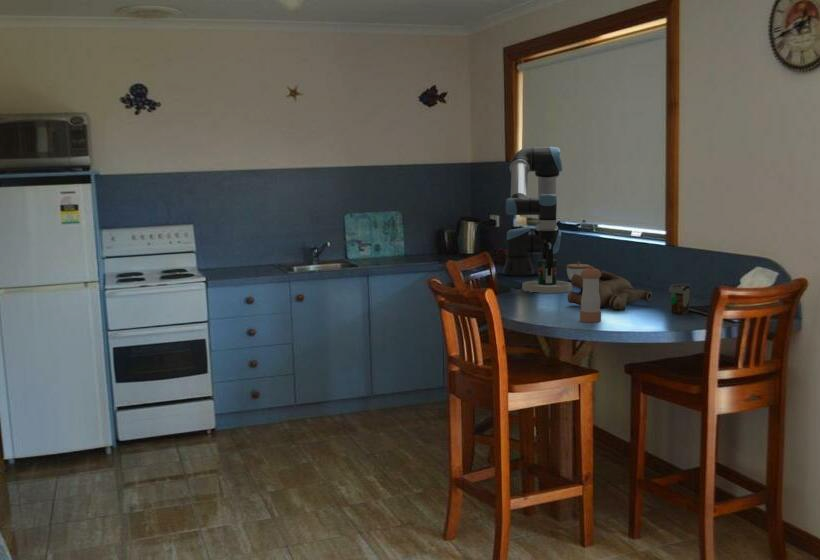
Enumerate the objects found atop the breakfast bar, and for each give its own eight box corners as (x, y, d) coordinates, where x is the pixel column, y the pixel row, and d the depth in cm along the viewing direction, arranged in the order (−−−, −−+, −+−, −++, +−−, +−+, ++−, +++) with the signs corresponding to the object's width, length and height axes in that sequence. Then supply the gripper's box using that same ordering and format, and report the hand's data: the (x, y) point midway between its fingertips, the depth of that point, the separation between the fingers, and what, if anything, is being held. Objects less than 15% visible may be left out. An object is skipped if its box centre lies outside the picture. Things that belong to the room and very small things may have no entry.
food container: (672, 309, 320) (673, 282, 318) (689, 310, 316) (690, 283, 315) (664, 314, 309) (665, 286, 308) (681, 315, 306) (682, 287, 305)
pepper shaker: (591, 323, 293) (591, 267, 290) (575, 320, 299) (576, 266, 296) (605, 320, 297) (606, 266, 294) (589, 318, 303) (590, 264, 300)
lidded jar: (591, 283, 395) (592, 262, 393) (568, 283, 395) (568, 263, 394) (587, 280, 405) (587, 260, 404) (564, 280, 405) (565, 260, 404)
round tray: (519, 286, 384) (519, 280, 384) (566, 286, 385) (566, 280, 384) (526, 293, 364) (526, 287, 363) (575, 292, 364) (575, 286, 363)
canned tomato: (559, 285, 371) (559, 260, 370) (543, 286, 369) (543, 260, 367) (550, 282, 379) (550, 258, 377) (534, 283, 376) (535, 259, 375)
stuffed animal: (567, 270, 325) (627, 283, 310) (604, 269, 349) (662, 281, 333) (561, 303, 327) (620, 317, 312) (599, 299, 351) (656, 313, 335)
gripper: (535, 228, 381) (534, 278, 384) (542, 231, 360) (542, 285, 363) (552, 228, 381) (551, 278, 384) (560, 231, 360) (560, 284, 363)
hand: (547, 281), depth 374 cm, fingers closed on canned tomato, 8 cm apart
